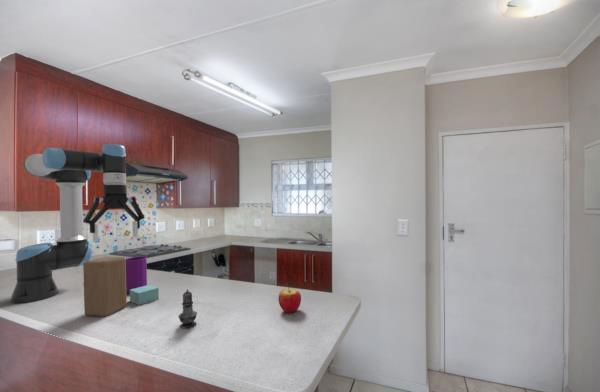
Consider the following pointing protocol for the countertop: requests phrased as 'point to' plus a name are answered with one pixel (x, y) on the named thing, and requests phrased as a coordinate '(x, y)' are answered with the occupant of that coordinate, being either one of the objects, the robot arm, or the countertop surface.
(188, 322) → the grey chess piece
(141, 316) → the countertop surface
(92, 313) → the wooden block
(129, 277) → the mug
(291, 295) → the apple
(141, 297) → the teal block
